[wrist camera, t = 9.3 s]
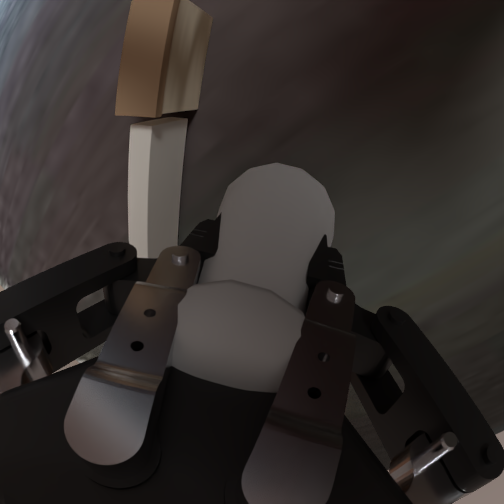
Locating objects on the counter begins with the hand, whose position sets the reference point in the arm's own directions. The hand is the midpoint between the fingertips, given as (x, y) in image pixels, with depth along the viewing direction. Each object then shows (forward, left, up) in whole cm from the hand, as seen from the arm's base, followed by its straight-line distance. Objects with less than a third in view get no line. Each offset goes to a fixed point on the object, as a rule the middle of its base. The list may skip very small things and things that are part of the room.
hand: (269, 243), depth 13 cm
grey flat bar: (+3, -7, -6) cm, 10 cm away
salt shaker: (0, 0, -5) cm, 5 cm away
